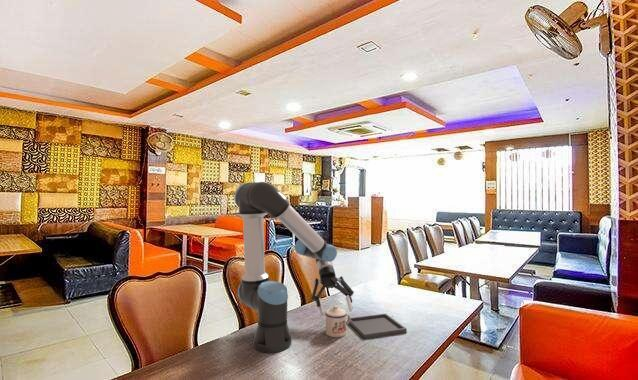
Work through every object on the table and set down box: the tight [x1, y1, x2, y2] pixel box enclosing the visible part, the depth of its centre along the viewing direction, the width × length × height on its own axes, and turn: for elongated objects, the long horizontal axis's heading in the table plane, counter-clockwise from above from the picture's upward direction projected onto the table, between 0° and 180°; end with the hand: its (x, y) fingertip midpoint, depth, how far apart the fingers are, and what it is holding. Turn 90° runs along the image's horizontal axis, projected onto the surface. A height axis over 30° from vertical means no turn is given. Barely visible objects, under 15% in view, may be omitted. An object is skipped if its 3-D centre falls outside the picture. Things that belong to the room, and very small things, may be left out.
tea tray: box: [348, 313, 407, 340], centre depth 142 cm, size 20×18×2 cm
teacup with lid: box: [324, 305, 351, 338], centre depth 137 cm, size 12×9×12 cm
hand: (337, 312), depth 140 cm, fingers open, 13 cm apart
